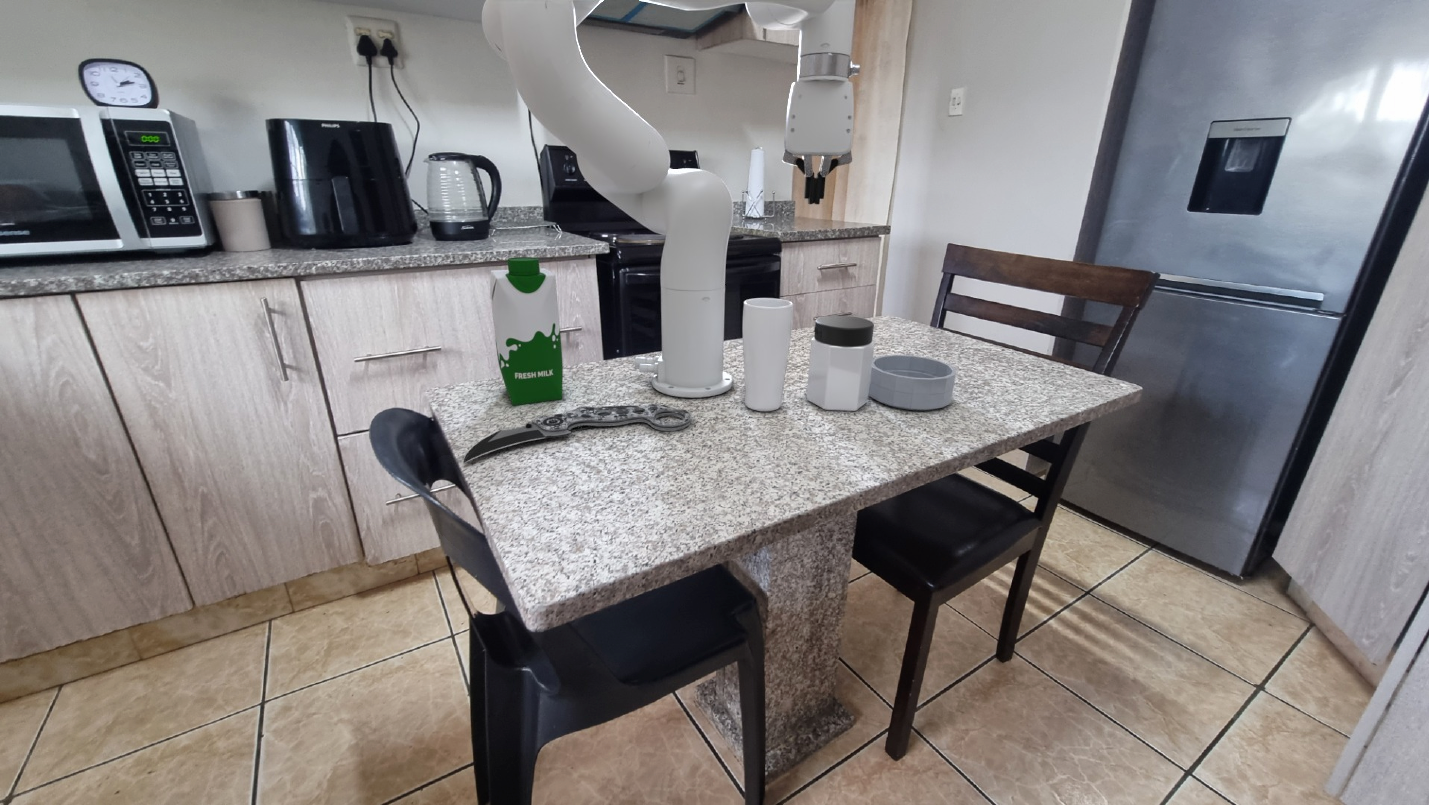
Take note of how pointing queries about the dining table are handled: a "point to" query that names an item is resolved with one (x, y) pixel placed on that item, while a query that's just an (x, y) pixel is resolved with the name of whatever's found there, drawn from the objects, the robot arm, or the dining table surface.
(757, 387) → the drinking glass
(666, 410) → the knife
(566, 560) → the dining table surface
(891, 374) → the bowl
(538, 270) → the milk carton
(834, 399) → the jar
